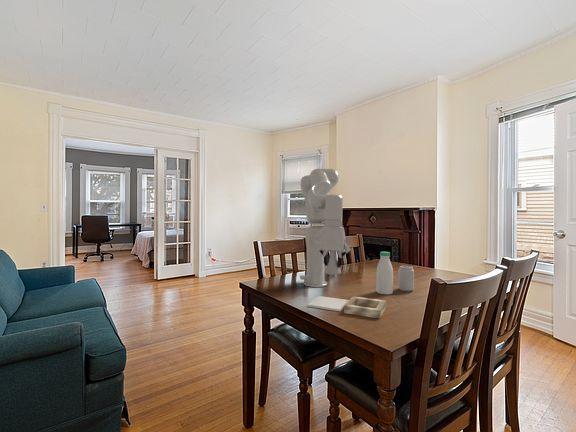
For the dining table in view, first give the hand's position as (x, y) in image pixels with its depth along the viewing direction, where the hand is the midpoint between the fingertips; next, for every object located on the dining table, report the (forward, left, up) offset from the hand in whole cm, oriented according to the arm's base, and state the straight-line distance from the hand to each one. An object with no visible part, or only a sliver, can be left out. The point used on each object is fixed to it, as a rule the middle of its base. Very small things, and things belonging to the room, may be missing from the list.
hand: (332, 265), depth 133 cm
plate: (-2, 0, -17) cm, 17 cm away
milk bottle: (+17, +29, -17) cm, 38 cm away
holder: (+14, -1, -17) cm, 22 cm away
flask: (0, 0, -4) cm, 4 cm away
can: (+26, +39, -17) cm, 50 cm away
